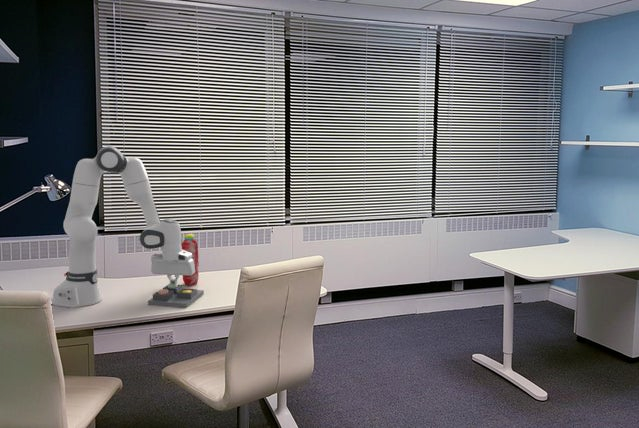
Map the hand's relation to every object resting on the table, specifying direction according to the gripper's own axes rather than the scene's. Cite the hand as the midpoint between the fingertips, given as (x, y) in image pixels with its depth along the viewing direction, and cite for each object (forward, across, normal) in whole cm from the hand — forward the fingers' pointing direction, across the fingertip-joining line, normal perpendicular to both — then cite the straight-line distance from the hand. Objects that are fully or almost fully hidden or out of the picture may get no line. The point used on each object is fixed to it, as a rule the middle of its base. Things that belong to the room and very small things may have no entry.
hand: (173, 283), depth 273 cm
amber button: (+4, +9, -6) cm, 11 cm away
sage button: (+2, 0, -1) cm, 2 cm away
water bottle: (+6, -1, +19) cm, 20 cm away
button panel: (+6, +4, -6) cm, 9 cm away
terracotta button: (+2, 0, -11) cm, 11 cm away
